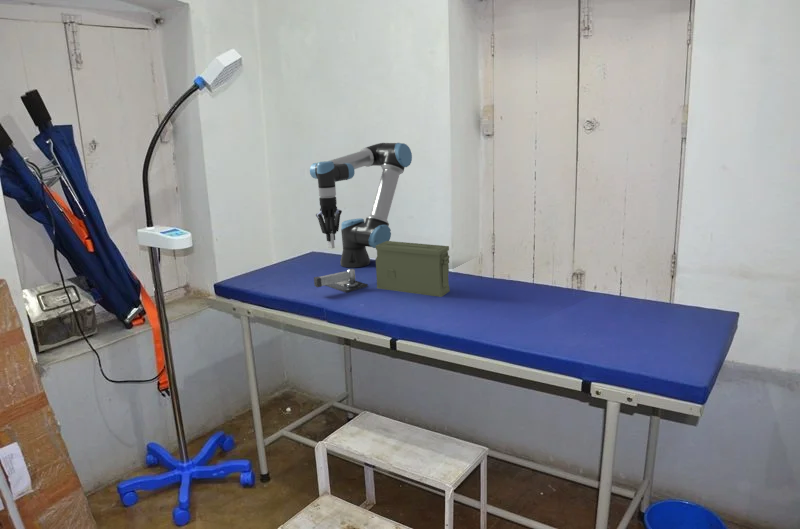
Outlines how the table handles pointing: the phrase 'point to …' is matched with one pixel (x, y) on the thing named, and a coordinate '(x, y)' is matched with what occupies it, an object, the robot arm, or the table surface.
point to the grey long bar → (335, 278)
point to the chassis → (347, 286)
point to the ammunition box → (413, 268)
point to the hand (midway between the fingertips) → (331, 247)
